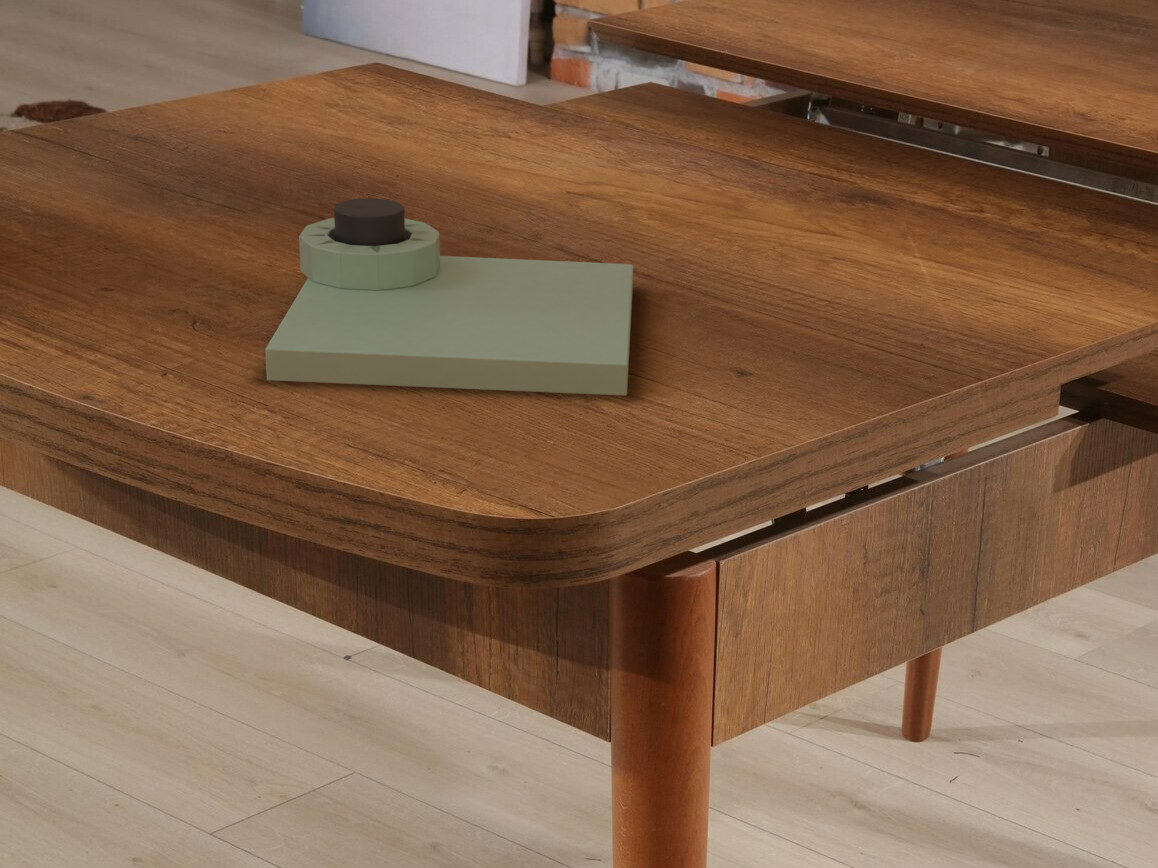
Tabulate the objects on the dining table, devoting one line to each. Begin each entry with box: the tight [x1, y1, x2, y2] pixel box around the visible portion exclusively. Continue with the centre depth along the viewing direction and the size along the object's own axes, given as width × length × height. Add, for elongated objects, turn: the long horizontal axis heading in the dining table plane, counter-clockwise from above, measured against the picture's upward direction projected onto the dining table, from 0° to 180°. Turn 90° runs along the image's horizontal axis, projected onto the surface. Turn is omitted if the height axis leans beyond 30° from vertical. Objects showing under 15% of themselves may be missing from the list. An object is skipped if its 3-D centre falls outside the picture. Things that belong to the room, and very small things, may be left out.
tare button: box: [333, 197, 406, 246], centre depth 77 cm, size 3×3×2 cm
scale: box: [264, 217, 635, 397], centre depth 75 cm, size 14×14×3 cm
